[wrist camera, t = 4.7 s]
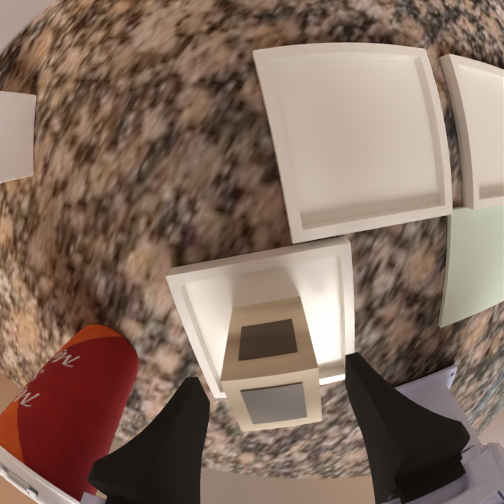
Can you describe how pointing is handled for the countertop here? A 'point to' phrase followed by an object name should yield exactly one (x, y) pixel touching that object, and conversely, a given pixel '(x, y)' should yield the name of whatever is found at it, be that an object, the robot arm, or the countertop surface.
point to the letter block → (271, 366)
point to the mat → (473, 263)
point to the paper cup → (67, 416)
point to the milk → (16, 135)
